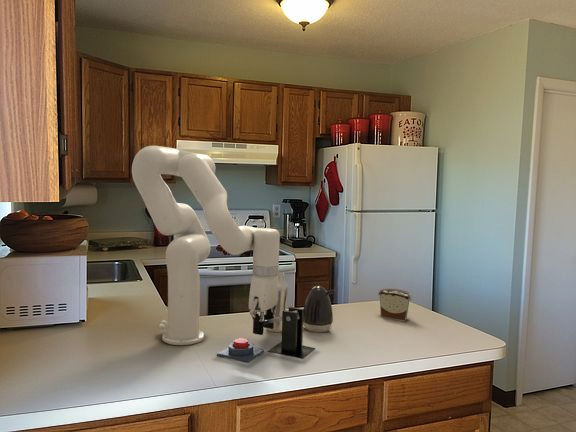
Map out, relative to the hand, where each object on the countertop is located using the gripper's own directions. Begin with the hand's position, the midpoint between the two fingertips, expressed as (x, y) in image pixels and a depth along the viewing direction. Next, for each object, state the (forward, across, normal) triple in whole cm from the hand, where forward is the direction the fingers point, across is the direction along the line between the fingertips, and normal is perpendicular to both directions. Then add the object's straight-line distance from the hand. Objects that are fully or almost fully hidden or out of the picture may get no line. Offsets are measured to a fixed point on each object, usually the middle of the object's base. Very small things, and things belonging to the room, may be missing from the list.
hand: (263, 330), depth 141 cm
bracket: (+5, 0, +10) cm, 11 cm away
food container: (+5, -52, +28) cm, 59 cm away
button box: (+5, +10, -2) cm, 11 cm away
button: (+2, +10, -2) cm, 10 cm away
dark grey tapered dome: (+5, -22, +8) cm, 24 cm away
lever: (-3, 0, +6) cm, 6 cm away
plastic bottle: (+5, -14, -2) cm, 15 cm away
